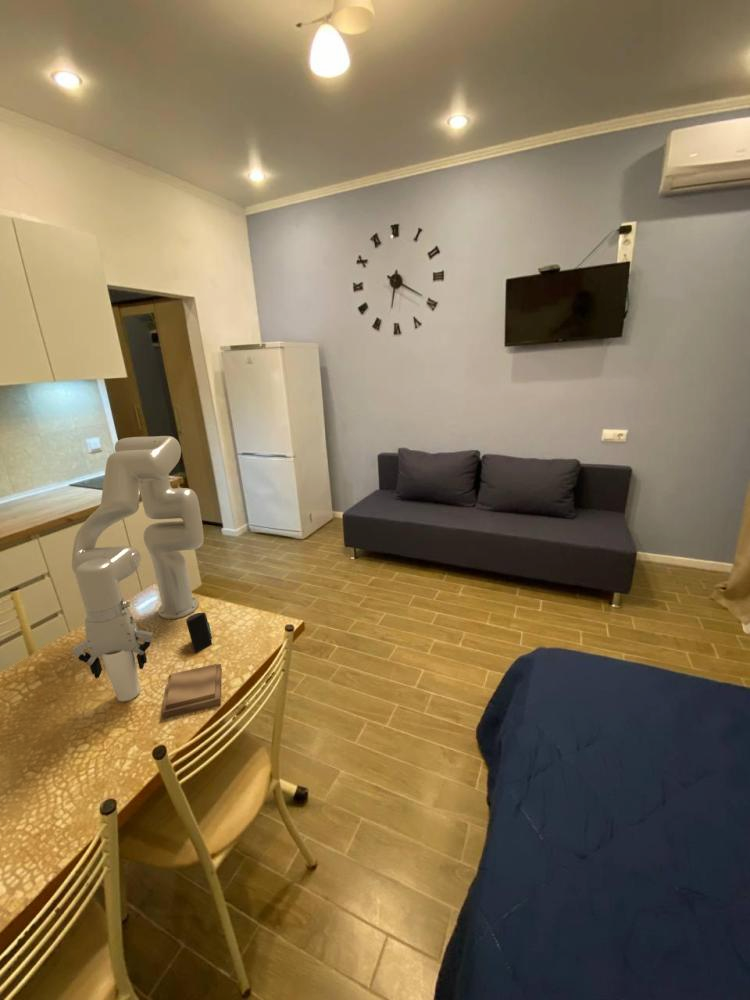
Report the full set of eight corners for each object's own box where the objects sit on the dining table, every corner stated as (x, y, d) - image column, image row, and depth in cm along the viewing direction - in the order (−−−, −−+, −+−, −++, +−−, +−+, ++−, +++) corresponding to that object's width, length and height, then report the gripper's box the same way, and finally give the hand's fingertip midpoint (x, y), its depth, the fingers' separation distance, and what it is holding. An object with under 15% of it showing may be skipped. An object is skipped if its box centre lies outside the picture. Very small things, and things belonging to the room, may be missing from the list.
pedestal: (170, 681, 112) (168, 672, 111) (221, 669, 115) (220, 660, 114) (163, 719, 100) (160, 709, 99) (220, 704, 104) (219, 695, 103)
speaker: (215, 646, 124) (207, 615, 122) (195, 654, 122) (186, 622, 119) (211, 634, 131) (203, 605, 128) (191, 642, 128) (183, 612, 125)
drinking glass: (130, 706, 104) (117, 657, 99) (107, 703, 105) (92, 653, 100) (149, 686, 110) (137, 638, 105) (127, 683, 111) (114, 635, 106)
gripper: (148, 595, 105) (161, 652, 110) (68, 609, 100) (85, 668, 105) (143, 611, 98) (156, 671, 104) (56, 626, 93) (75, 689, 99)
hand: (121, 669), depth 104 cm, fingers open, 9 cm apart
